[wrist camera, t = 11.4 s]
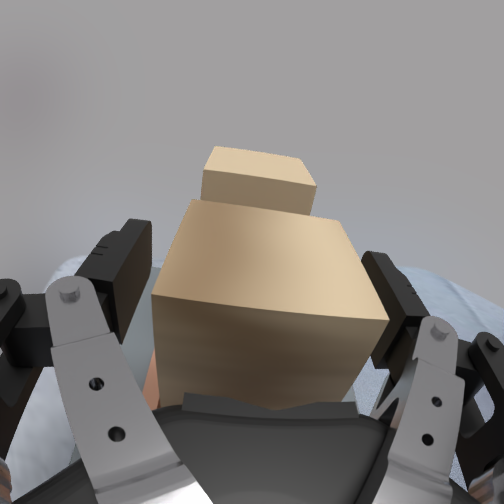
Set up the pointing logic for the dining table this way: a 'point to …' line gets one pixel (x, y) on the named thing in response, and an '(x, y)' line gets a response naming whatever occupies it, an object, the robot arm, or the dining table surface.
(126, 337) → the base board
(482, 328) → the dining table surface
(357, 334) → the maple pillar
